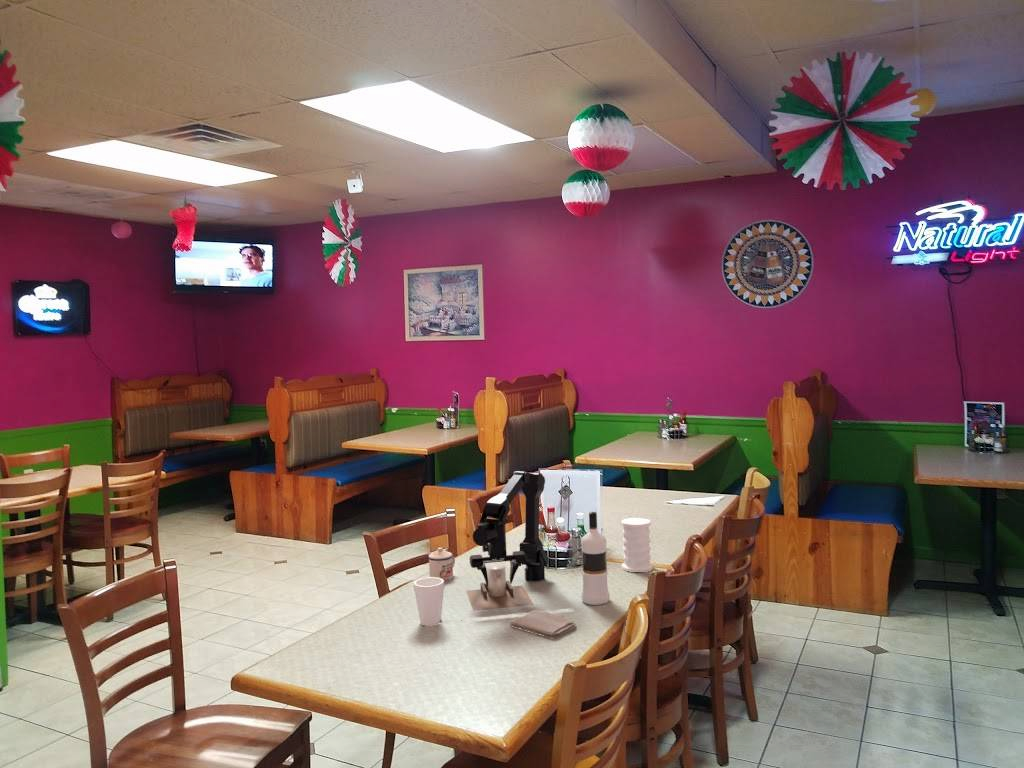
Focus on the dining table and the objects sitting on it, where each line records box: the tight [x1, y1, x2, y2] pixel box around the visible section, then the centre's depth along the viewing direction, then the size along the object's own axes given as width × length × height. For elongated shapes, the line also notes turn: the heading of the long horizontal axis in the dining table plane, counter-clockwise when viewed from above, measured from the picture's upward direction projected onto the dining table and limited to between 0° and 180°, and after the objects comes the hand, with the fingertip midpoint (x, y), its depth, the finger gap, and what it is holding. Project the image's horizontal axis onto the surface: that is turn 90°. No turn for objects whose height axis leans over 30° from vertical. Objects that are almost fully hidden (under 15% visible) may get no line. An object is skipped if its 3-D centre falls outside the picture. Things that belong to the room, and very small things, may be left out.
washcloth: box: [509, 609, 577, 640], centre depth 232 cm, size 12×18×3 cm, turn 50°
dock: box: [466, 580, 534, 611], centre depth 257 cm, size 20×20×4 cm
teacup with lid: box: [427, 547, 456, 581], centre depth 283 cm, size 12×9×12 cm
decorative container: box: [620, 517, 654, 573], centre depth 286 cm, size 12×12×18 cm
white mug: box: [486, 564, 507, 597], centre depth 259 cm, size 10×6×9 cm, turn 10°
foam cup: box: [413, 576, 445, 627], centre depth 239 cm, size 10×9×13 cm
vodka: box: [580, 511, 611, 606], centre depth 252 cm, size 9×9×30 cm
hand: (499, 584), depth 255 cm, fingers open, 8 cm apart
